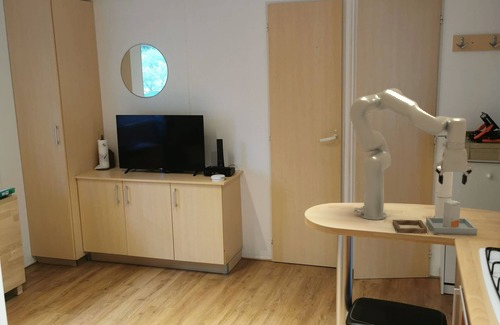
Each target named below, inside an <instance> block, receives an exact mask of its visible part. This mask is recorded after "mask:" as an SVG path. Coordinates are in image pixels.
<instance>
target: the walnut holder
mask: <svg viewBox="0 0 500 325" xmlns="http://www.w3.org/2000/svg"><path fill="white" fill-rule="evenodd" d="M392 225H393V227H394V229H395V232H396V233H397V234H426V233H427V234H428V229H429V228H427V225H425V223H424V222H423V221H422V220H421V219H392ZM401 226H418V227H401Z"/></svg>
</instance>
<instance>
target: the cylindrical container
mask: <svg viewBox="0 0 500 325" xmlns="http://www.w3.org/2000/svg"><path fill="white" fill-rule="evenodd" d="M437 168H438V170H439V171H440V170H441V165H440V166H438V167H437ZM438 179H439V174H438V173H437V172H436V186H435V202H434V203H435V204H434V205H435V207H434V218H443V214H444V202H448V201H453V200H452V197H453V182H454V180H453V179H454V172H444V173H443V184H440V183H439V181H438Z"/></svg>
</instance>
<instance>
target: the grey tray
mask: <svg viewBox="0 0 500 325" xmlns="http://www.w3.org/2000/svg"><path fill="white" fill-rule="evenodd" d="M425 224H426V227H428V229H429V230H430V231H431V233H432V234H433V235H438V234H443V235H446V236H447V235H448V236H452V235H453V236H477V235H478V228H477V227H476V226H475V225H474V224H473V223H472V222H471V221H470V220H469V219H468V218H466V217H460V218H459V228H450V227H443V218H435V217H426V218H425Z"/></svg>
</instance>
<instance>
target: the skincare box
mask: <svg viewBox="0 0 500 325" xmlns="http://www.w3.org/2000/svg"><path fill="white" fill-rule="evenodd" d="M461 204H462V203H461V201H457V200H451V201H448V202H444V214H443V227H450V228H459V218H461V217H460V216H461Z"/></svg>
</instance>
